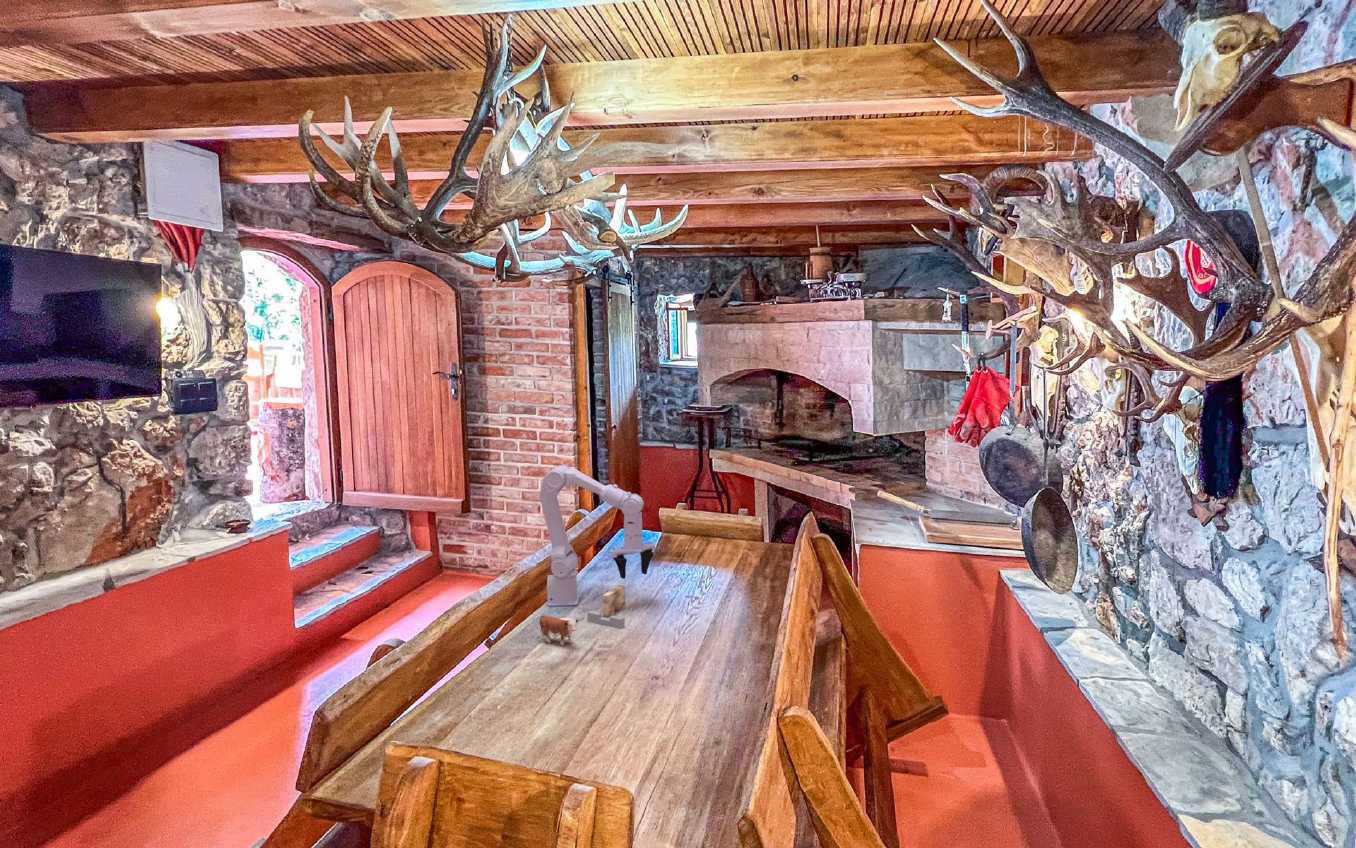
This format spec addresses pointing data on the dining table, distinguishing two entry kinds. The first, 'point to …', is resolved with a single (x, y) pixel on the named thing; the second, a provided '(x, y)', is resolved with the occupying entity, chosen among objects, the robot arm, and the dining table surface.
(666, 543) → the dining table surface
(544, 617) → the bull figurine
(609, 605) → the beige slab block
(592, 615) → the slate rail
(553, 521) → the robot arm
